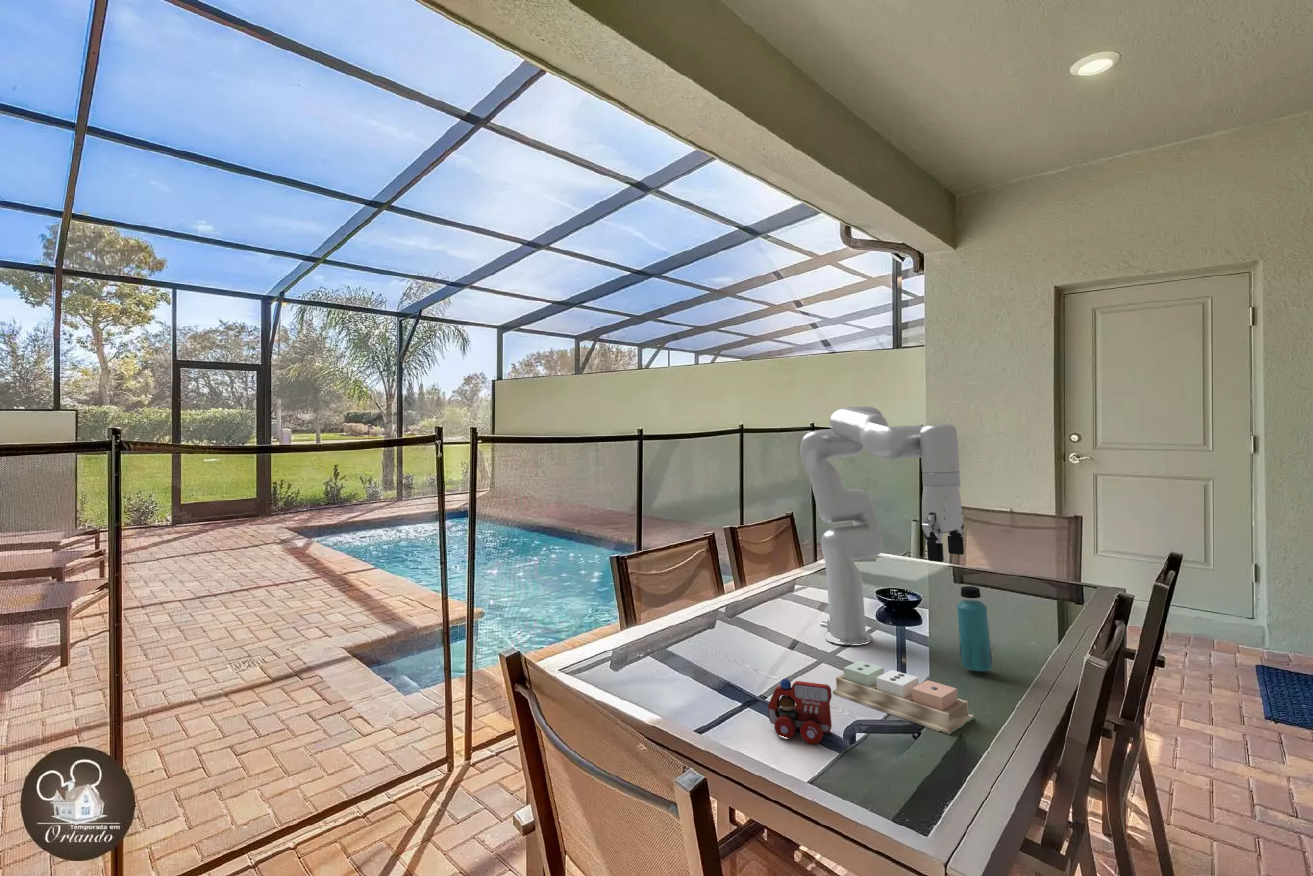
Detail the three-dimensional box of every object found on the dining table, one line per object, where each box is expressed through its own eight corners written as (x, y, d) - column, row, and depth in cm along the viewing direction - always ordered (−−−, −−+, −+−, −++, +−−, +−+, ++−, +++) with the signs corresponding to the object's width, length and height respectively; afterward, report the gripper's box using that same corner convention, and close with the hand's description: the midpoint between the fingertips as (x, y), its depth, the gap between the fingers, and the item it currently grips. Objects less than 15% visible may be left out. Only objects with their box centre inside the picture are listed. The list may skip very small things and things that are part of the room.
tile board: (832, 693, 130) (831, 678, 130) (858, 681, 135) (857, 666, 135) (949, 735, 109) (948, 716, 109) (973, 718, 115) (972, 701, 115)
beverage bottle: (997, 678, 133) (991, 590, 133) (965, 677, 134) (959, 590, 134) (987, 667, 139) (981, 583, 139) (957, 667, 140) (951, 584, 141)
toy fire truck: (776, 720, 119) (773, 669, 119) (838, 732, 112) (834, 678, 113) (765, 736, 113) (761, 682, 113) (829, 749, 106) (826, 692, 107)
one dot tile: (913, 706, 116) (911, 688, 116) (928, 697, 120) (927, 679, 120) (942, 716, 112) (941, 697, 112) (958, 706, 115) (956, 688, 115)
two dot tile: (844, 683, 129) (843, 667, 129) (860, 676, 133) (859, 660, 133) (868, 691, 124) (867, 674, 124) (884, 683, 128) (883, 667, 128)
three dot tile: (877, 694, 123) (875, 677, 123) (893, 686, 126) (891, 669, 126) (903, 703, 118) (902, 685, 118) (919, 694, 122) (918, 677, 122)
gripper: (942, 477, 137) (947, 549, 137) (905, 483, 126) (910, 562, 126) (975, 477, 131) (980, 553, 131) (939, 483, 121) (945, 566, 120)
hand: (946, 557), depth 129 cm, fingers open, 9 cm apart
